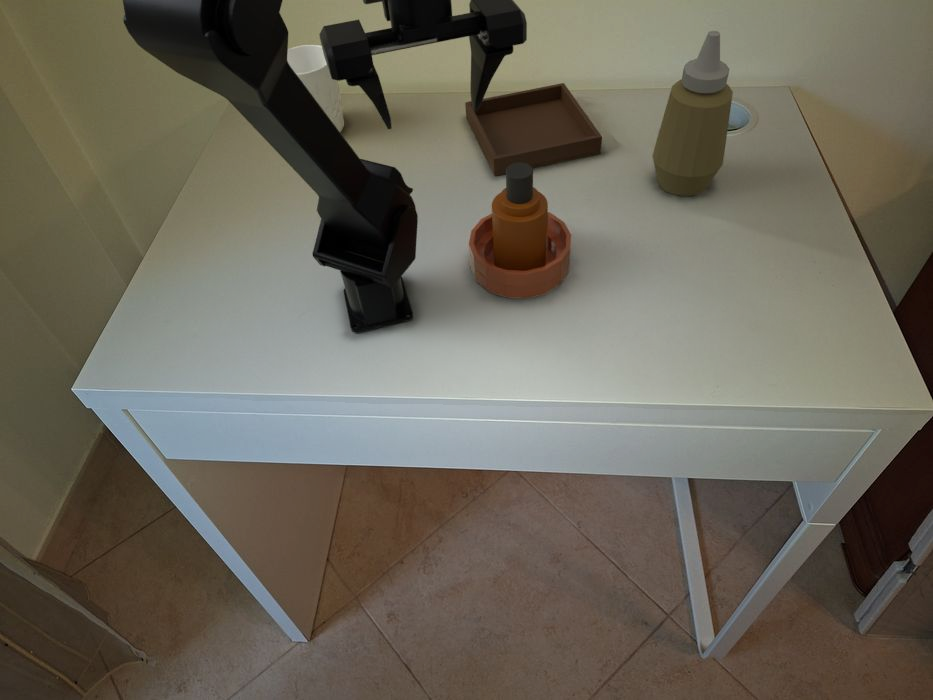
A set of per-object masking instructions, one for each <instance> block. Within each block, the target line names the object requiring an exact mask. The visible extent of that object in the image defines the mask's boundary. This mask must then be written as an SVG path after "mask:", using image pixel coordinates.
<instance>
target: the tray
mask: <svg viewBox="0 0 933 700" xmlns="http://www.w3.org/2000/svg"><path fill="white" fill-rule="evenodd" d="M464 105H465V106H464V107H465V117H466V118H465V119H466V121H467V123H468V125H469V127H470V129H471V131H472V133H473V135H474V138H475V139H476V141H477V144H478V146H479V148H480V150H481V152H482V154H483V156H484V158H485V160H486V162H487V164H488V166H489V168H490V171H491V172H492V175H493V176H494V177H497V176H501V175H506V169H507V167H508V166H509V165H511V164H514V163H526V164H529V165H530V166H531V167H532V168H533V169H534V168H540V167H543V166H549V165H553V164H558V163H563V162H569V161H573V160H578V159H582V158H587V157H591V156H596V155H599V154H601V153H602V143H603V135H602V134H601V133H600V131H599V130H598V129H597V127H596V126H595V124H594V123H593V122H592V120H591V118H590V117H589V116H588V114H586V111H585V110H584V109H583V108H582V106H581V105H580V104H579V102H578V100H577V99H576V98H575V97H574V95H573V94H572V92H571V91H570V90H569V88H568V87H567V85H566V84H565V83H564V82H561V83H557V84H551V85H545V86H541V87H535V88H531V89H525V90H521V91H515V92H510V93H506V94H501V95H495V96H490V97H484V98H483V100H482V103H481V105H480V107H479V110H477V111H474V109H473V108H472V102H471V100H470V101H469V100H468V101H465V102H464Z"/></svg>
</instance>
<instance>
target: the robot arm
mask: <svg viewBox="0 0 933 700" xmlns="http://www.w3.org/2000/svg"><path fill="white" fill-rule="evenodd" d="M362 2H363V4H364V5H370V4H371V5H372V4H376V3H382V8H383V9H382V10H383V15H384V18H385V20H386V21H387V22H390V28H383V29H379V30H374V31H368V32H365V29H364V28H363V25H362V23H361V21H360V19H354V20H349V21H343V22H338V23H333V24H327V25H323V26H322V28H321V30H320V32H319V34H318V36H319V41H320V46H322V49H323V54H324V57H325V60H326V63H327V66H328V69H329V72H330V75H331V78H332V79H333V80H338V82H340V81H344V80H345V81H346V84H347V86H350V87H356V86H357V87H358V86H359V87H360V89H361V90H362V91H363V92H364V93H365V95H366V96H367V97H368V99H369V100H370V102H372V104H373V105H374V107H375V109H376V111H377V112H378V114H379V116H380V118H381V120H382V121H383V123H384V126H385V127H386V129H387V130H392V128H393V127H392V118H391V115H390V110H389V108H388V107H389V106H388V104H387V100H386V98H385V93H384V90H383V87H382V84H381V80H380V76H379V73H378V72H377V70H376V67H375V65H374V60H373V56H376V55H380V54H381V55H382V54H386V53H390V52H395V51H401V50H406V49H410V48H411V49H412V48H417V47H421V46H426V45H431V44H436V43H442V42H446V41H451V40H456V39H462V38H468V39H469V45H470V90H469V91H470V101H471V102H472V108H473V109H474V111H477V110H479V107H480V105H481V103H482V100H483V99H485V95H486V93H487V91H488V88H489V86H490V83H491V81H492V79H493V77H494V76H495V74H496V72H497V71H498V69H499V67H500V66H501V63H502V62H503V60H504V58H505V57H506V56H509V55H512V54H513V53H514V46H520V45H524V43H526V42H527V40H528V39H527V37H528V36H527V35H528V34H527V33H528V32H527V31H528V30H527V29H528V28H527V27H528V22H527V19H526V14H525V13H524V11H523V10H522V9H521V8H520V7H519V5H518V4H517V3H516V2H515V1H514V0H470V1H469V4H468V7H469V12H465V13H462V14H457V15H456V14H455V15H453V5H452V0H362ZM282 4H283V0H122V5H123V10H124V15H123V18H122V20H123V25H124V26H125V28H126V31H127V33H128V34H129V35H130V36H131V37H132V39H133V41H134V42H135V43H136V44H137V46H139V47H140V48H141V49H142V50H143V51H145V52H146V53H148V54H149V55H150V56H152V57H154V59H157V60H158V61H159V62H161V63H162V64H164V65H165V66H167V67H168V68H169V69H171V70H173V71H174V72H176V73H177V74H179V75H181V76H183V77H184V78H186V79H188V80H190V81H193V82H194V83H197V84H198V85H200V86H202V87H204V88H206V89H208V90H209V91H211V92H213V93H215V94H217V95H220V96H221V97H223V98H225V99H226V100H227V101H228V102H229V103H230V105H232V106H233V107H234V108H235V109H236V111H238V113H240V114H241V115H242V116H243V118H245V120H246V121H247V122H248V123H249V124H250V125H251V126H252V127H253V128H254V129H255V131H257V133H258V134H259V135H260V136H261V137H262V138H263V139H264V140H265V141H266V142H267V143H268V144H269V145H270V146H271V147H272V149H274V151H275V152H276V153H277V154H278V155H279V156H280V157H281V158H282V159H283V160H284V161H285V162H286V163H287V165H289V166H290V167H291V168H292V170H294V172H296V173H297V175H298V176H299V177H300V178H301V179H302V180H303V181H304V182H305V184H307V185H308V186H309V187H310V189H311V190H313V192H314V193H316V195H317V196H318V200H317V207H316V212H317V214H318V216H319V218H320V222H319V227H318V229H317V234H316V238H315V242H314V245H313V246H314V247H313V249H312V258H313V259H314V260H315V261H316V262H317V264H318V265H319V266H322V267H329V268H331V269H334V270H338V271H339V273H340V275H341V280H342V282H343V286H344V289H343V296H344V301H345V305H346V311H347V317H348V322H349V326H350V330H351V332H352V333H356V334H357V333H360V332H365V331H369V330H373V329H374V330H375V329H378V328H383V327H387V326H390V325H395V324H399V323H404V322H407V321H408V322H409V321H411V320H413V318H414V312H413V309H412V305H411V301H410V298H409V295H408V292H407V289H406V285H405V281H404V278H403V275H404V274H405V273H406V271H407V270H408V269H409V268H410V267H411V265H412V264H413V263H414V261H415V260H416V255H417V254H416V253H417V241H418V240H417V237H418V223H419V222H418V212H417V208H416V204H415V201H414V199H413V196H411V194H412V193H413V191H414V188H413V187H410V186H408V185H407V183H406V182H405V180H404V177H403V175H402V173H401V172H400V171H399V170H398V169H397V168H396V167H395V166H391V165H388V164H383V163H379V162H376V161H375V162H374V161H371V160H367V159H363V158H360V157H359V155H358V154H357V153H356V152H355V150H354V148H352V146H351V145H350V143H349V142H348V141H347V140H346V138H345V136H343V134H342V133H341V132H339V130H338V129H337V128H336V126H335V125H334V124H333V122H332V121H331V120H330V118H329V117H328V116H327V114H326V113H325V112H324V110H323V109H322V108H321V106H320V105H319V104H318V102H317V101H316V100H315V98H314V97H313V96H312V94H311V93H310V92H309V90H308V89H307V88H306V86H305V85H304V84H303V82H302V81H301V80H300V78H299V77H298V76H297V74H296V73H295V72H294V71H293V69H292V68H291V67H290V65H289V63H288V61H287V52H288V49H289V30H288V28H287V25H286V22H285V21H284V19H283V17H282V15H281V8H282Z"/></svg>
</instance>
